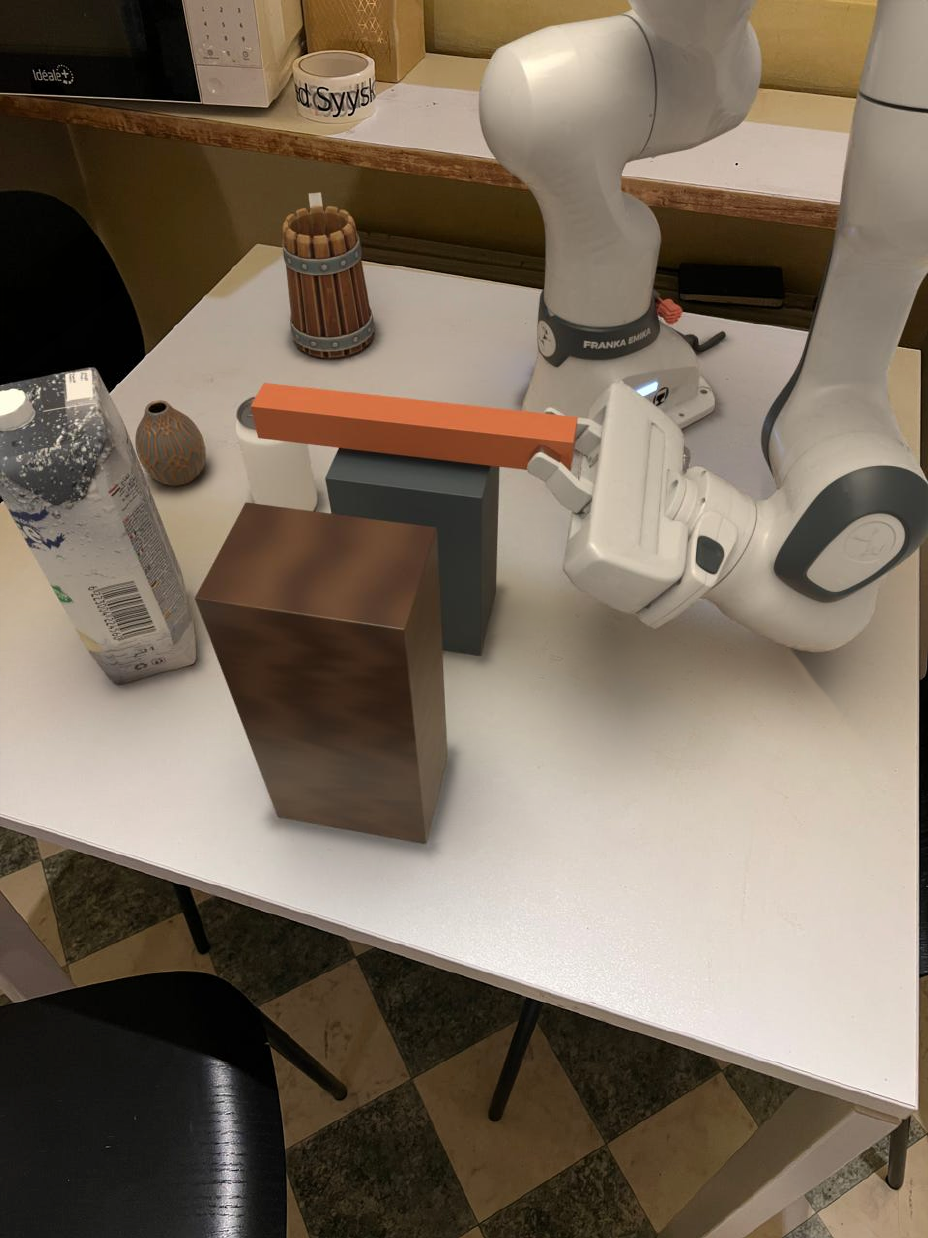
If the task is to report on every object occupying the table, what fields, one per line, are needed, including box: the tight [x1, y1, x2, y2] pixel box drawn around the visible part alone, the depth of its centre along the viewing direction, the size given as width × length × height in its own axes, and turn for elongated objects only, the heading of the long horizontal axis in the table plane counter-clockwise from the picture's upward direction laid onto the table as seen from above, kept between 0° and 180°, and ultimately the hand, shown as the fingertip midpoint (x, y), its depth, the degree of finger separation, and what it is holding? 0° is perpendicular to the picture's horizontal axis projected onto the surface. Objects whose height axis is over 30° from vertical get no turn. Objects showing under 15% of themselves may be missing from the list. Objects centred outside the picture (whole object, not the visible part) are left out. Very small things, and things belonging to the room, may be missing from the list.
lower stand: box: [324, 448, 501, 657], centre depth 74 cm, size 12×8×19 cm, turn 79°
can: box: [235, 394, 318, 511], centre depth 86 cm, size 6×6×12 cm
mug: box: [281, 192, 375, 359], centre depth 107 cm, size 16×11×15 cm
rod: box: [250, 382, 578, 472], centre depth 64 cm, size 24×3×3 cm, turn 79°
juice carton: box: [0, 366, 197, 685], centre depth 69 cm, size 9×10×27 cm
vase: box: [134, 399, 207, 487], centre depth 91 cm, size 7×7×9 cm
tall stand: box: [194, 501, 448, 844], centre depth 59 cm, size 12×8×26 cm, turn 79°
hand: (536, 437), depth 63 cm, fingers closed on rod, 3 cm apart
